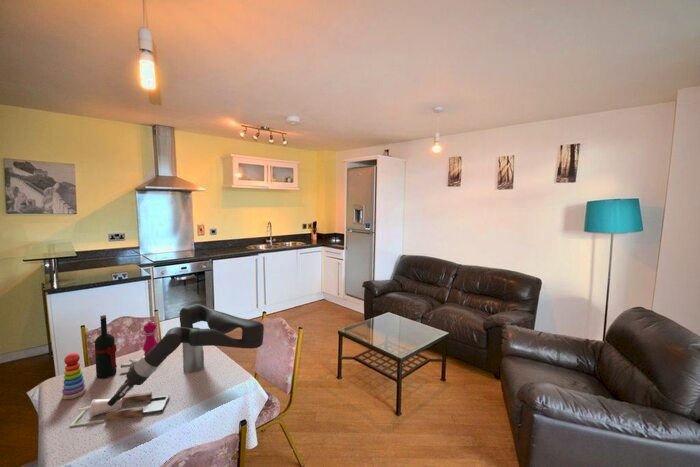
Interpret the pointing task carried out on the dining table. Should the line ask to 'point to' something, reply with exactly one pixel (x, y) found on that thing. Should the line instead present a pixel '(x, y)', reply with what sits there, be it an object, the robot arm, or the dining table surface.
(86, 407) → the frame
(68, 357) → the stacking toy
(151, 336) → the pepper mill
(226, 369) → the dining table surface
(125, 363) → the bunny figurine
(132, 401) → the walnut channel
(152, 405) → the tray
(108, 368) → the wine bottle
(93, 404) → the smoothie
